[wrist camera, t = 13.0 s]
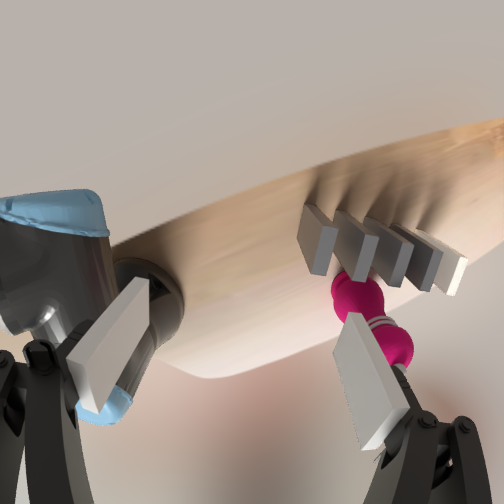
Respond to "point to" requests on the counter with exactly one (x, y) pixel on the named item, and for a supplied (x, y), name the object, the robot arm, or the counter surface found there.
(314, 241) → the domino
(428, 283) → the domino
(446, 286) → the white domino
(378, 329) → the pepper mill
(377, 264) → the domino
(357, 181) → the counter surface
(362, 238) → the domino
